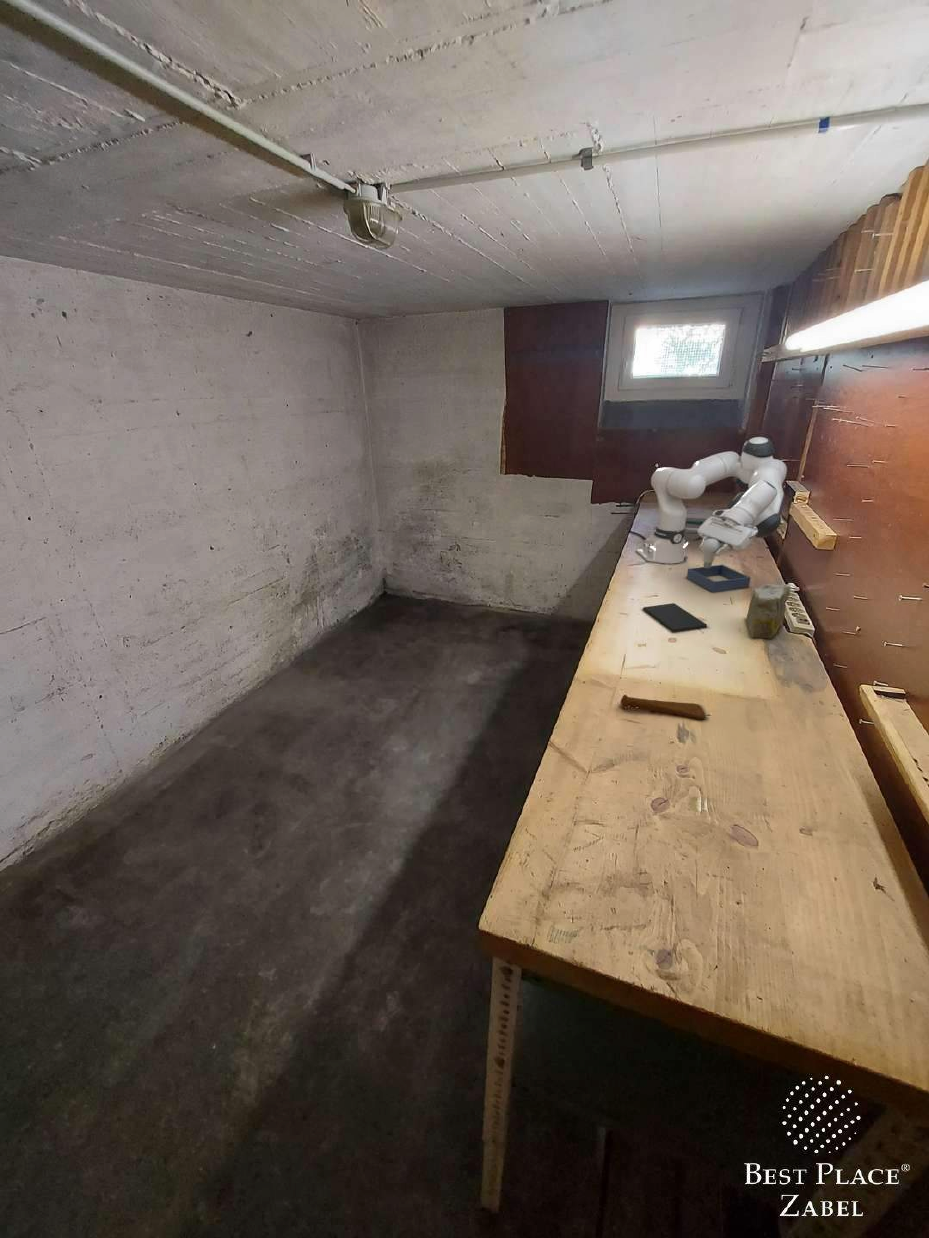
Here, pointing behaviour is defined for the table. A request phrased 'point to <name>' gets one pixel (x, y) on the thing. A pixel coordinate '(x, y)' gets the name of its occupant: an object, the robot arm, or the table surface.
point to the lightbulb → (709, 551)
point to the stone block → (767, 610)
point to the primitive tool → (664, 706)
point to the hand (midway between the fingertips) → (708, 551)
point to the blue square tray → (735, 581)
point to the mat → (674, 617)
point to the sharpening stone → (694, 525)
